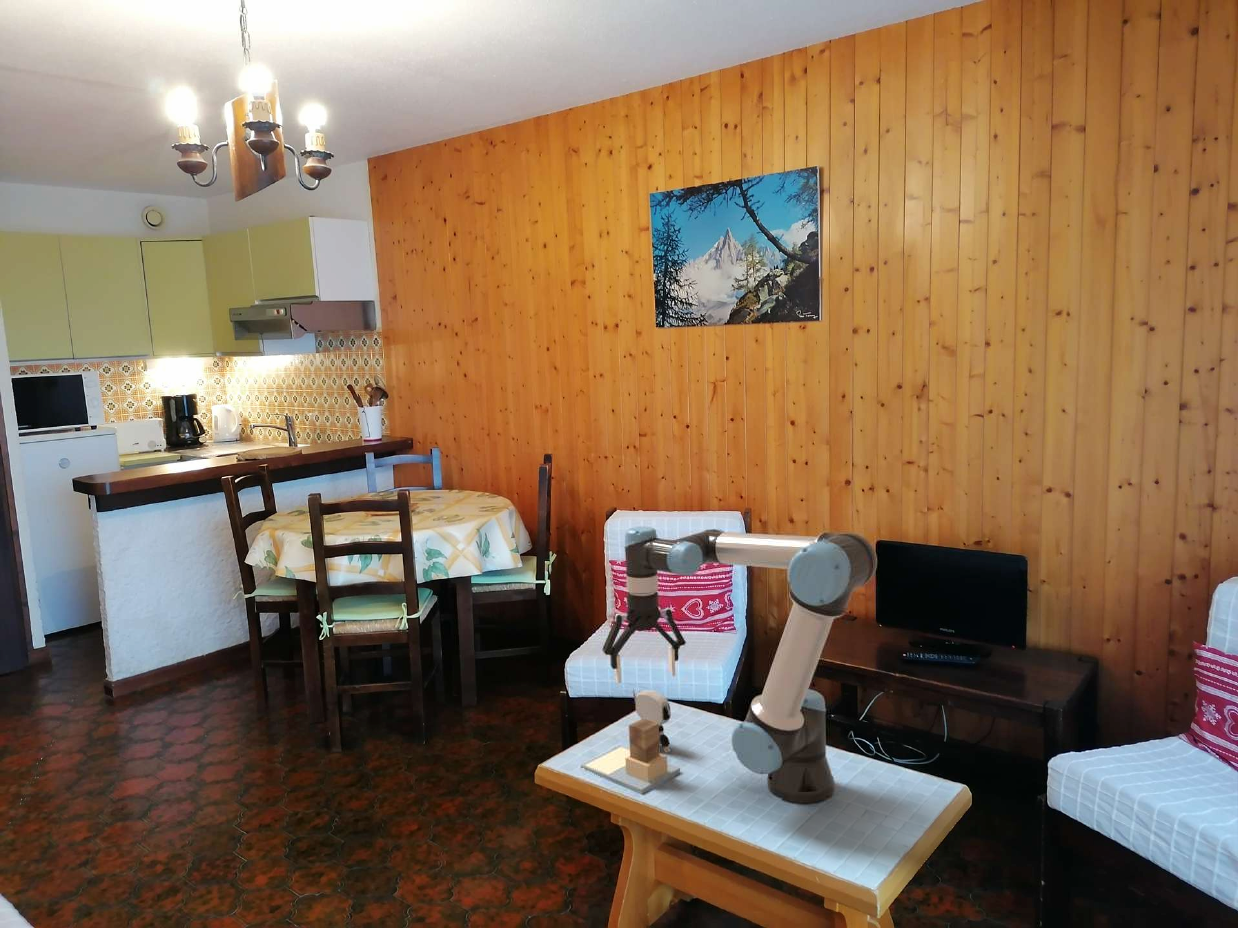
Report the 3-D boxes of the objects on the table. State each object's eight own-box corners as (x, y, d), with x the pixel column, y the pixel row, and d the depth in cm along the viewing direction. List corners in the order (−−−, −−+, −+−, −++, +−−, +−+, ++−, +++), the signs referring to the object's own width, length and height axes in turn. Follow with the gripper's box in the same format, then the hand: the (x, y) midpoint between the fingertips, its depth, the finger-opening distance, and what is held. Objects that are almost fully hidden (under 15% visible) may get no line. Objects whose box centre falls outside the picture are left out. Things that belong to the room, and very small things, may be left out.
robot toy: (679, 751, 223) (677, 694, 222) (666, 756, 220) (664, 699, 218) (644, 737, 232) (642, 683, 230) (632, 743, 229) (630, 687, 227)
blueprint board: (680, 772, 211) (679, 751, 211) (641, 794, 201) (640, 772, 201) (619, 749, 225) (619, 730, 225) (580, 769, 215) (579, 749, 214)
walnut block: (659, 755, 209) (658, 723, 208) (645, 763, 206) (644, 730, 205) (644, 749, 213) (642, 718, 212) (630, 757, 209) (628, 724, 208)
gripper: (686, 582, 216) (688, 665, 219) (588, 593, 210) (591, 678, 212) (696, 590, 209) (699, 675, 212) (595, 601, 203) (599, 689, 205)
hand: (645, 677), depth 212 cm, fingers open, 13 cm apart
